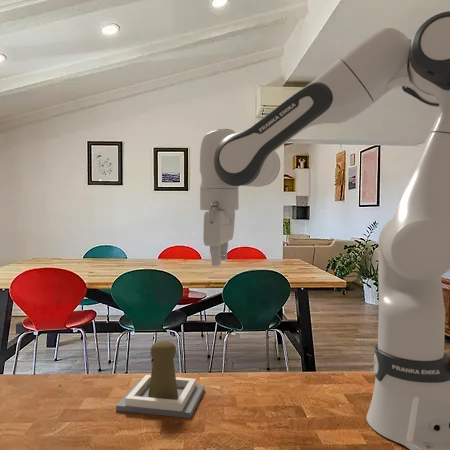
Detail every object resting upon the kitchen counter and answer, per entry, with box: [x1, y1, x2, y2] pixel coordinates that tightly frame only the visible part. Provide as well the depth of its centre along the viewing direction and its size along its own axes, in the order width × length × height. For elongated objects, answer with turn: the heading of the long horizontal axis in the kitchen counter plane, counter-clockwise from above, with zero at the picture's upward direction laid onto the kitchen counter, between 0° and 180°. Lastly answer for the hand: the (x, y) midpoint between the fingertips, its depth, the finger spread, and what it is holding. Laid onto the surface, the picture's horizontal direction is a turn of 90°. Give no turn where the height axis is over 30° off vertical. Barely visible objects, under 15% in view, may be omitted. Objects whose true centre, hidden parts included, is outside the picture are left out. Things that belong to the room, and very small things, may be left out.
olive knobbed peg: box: [148, 340, 178, 400], centre depth 83 cm, size 6×6×11 cm
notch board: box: [115, 374, 205, 419], centre depth 83 cm, size 15×12×2 cm
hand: (219, 262), depth 92 cm, fingers open, 8 cm apart
